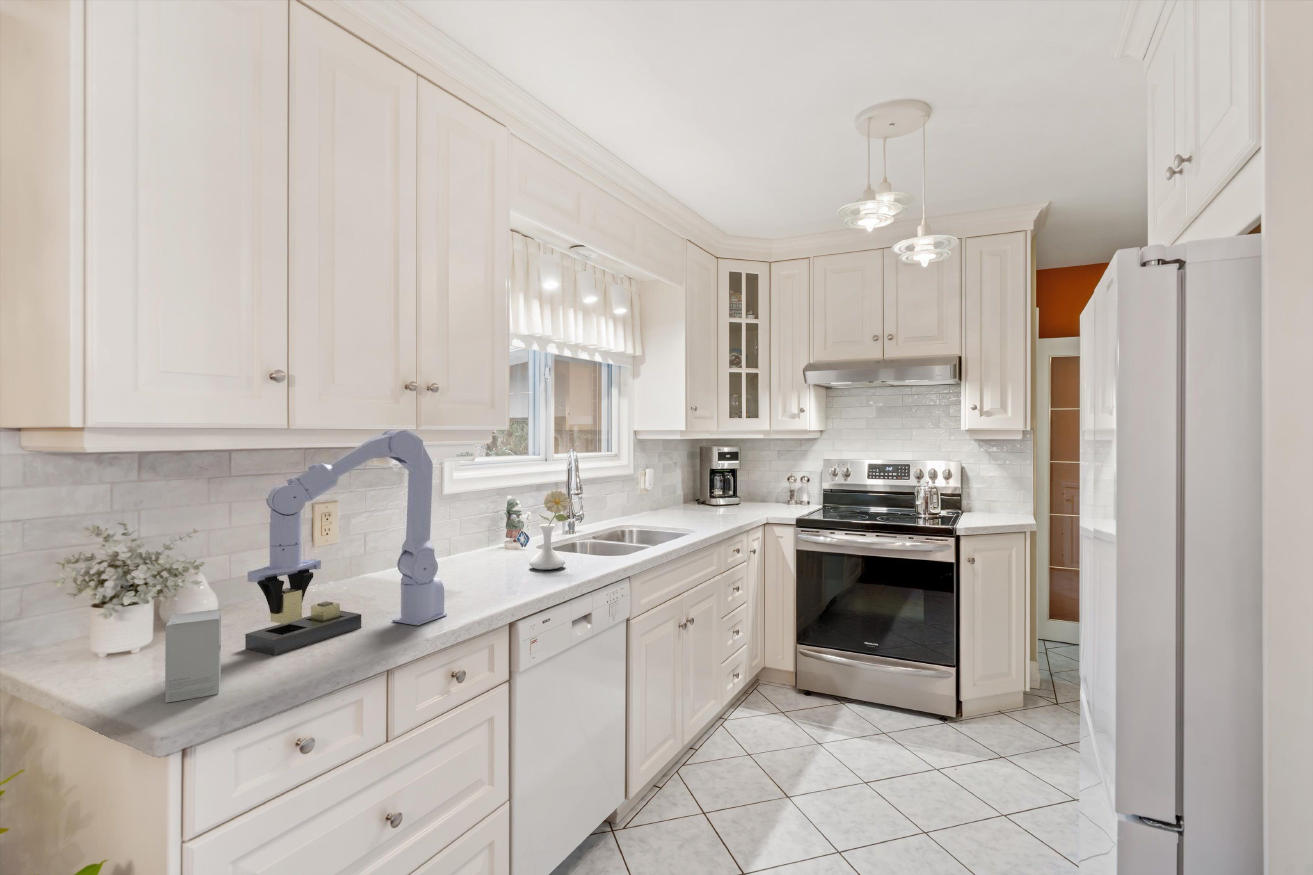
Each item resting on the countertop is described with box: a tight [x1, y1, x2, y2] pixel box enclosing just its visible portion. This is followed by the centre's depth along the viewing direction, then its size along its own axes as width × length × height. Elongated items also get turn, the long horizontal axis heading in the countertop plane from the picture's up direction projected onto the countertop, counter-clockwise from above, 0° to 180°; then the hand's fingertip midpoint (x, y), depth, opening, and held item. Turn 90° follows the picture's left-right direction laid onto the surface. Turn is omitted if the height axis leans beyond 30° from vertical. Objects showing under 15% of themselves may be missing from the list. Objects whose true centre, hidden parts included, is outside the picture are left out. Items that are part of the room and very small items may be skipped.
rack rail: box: [244, 610, 362, 656], centre depth 137 cm, size 20×9×3 cm, turn 154°
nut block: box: [270, 587, 303, 624], centre depth 133 cm, size 4×4×6 cm
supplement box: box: [164, 608, 222, 703], centre depth 109 cm, size 7×7×13 cm
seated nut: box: [310, 600, 341, 623], centre depth 141 cm, size 4×4×6 cm
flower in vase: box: [528, 489, 571, 571], centre depth 206 cm, size 13×11×25 cm
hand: (285, 610), depth 133 cm, fingers closed on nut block, 4 cm apart
